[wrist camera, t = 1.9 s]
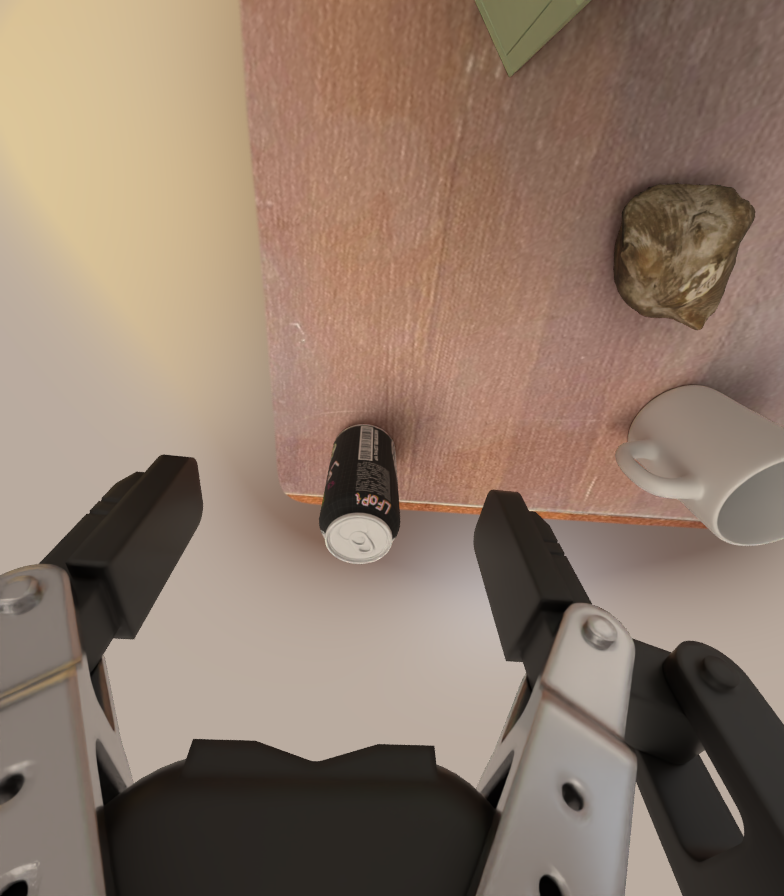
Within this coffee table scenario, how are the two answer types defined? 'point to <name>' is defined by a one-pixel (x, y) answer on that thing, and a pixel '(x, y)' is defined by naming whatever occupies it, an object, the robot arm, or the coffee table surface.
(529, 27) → the chest
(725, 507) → the mug
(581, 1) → the lid
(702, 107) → the coffee table surface
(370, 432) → the beverage can
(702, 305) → the fossilized seashell
